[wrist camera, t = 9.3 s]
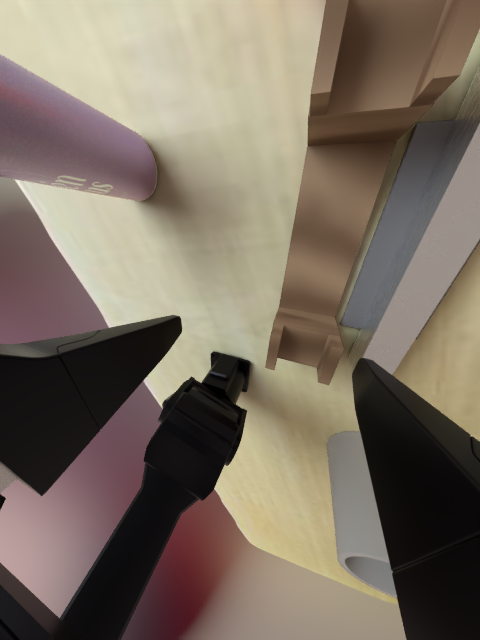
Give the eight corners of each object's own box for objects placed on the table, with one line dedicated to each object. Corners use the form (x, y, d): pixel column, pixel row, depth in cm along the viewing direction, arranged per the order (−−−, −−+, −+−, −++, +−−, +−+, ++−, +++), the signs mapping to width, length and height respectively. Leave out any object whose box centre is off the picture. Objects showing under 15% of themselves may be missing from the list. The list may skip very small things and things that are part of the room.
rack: (321, 349, 22) (326, 393, 16) (273, 338, 24) (262, 374, 18) (430, 34, 11) (584, -210, 5) (324, 53, 12) (342, -113, 6)
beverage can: (149, 124, 17) (-269, -160, 5) (167, 195, 20) (-76, 134, 7) (108, 144, 19) (-259, -18, 7) (129, 206, 22) (-111, 173, 9)
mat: (414, 337, 18) (416, 339, 18) (340, 323, 20) (340, 325, 19) (555, 115, 10) (563, 111, 10) (415, 125, 12) (418, 122, 12)
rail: (376, 363, 20) (387, 383, 18) (348, 357, 21) (353, 374, 18) (581, 0, 9) (694, -94, 6) (502, 15, 10) (573, -64, 7)
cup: (333, 424, 27) (350, 542, 17) (406, 444, 24) (479, 599, 14) (321, 456, 31) (329, 566, 21) (382, 476, 28) (425, 614, 18)
